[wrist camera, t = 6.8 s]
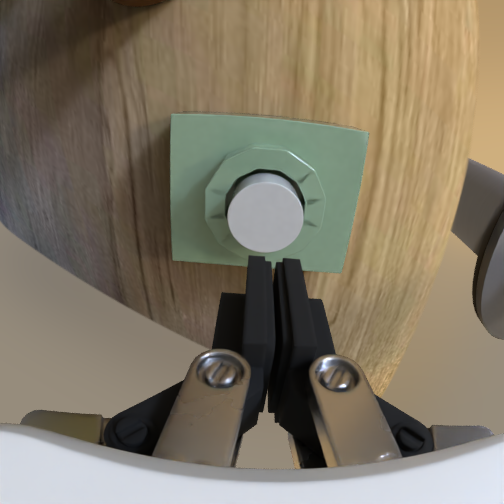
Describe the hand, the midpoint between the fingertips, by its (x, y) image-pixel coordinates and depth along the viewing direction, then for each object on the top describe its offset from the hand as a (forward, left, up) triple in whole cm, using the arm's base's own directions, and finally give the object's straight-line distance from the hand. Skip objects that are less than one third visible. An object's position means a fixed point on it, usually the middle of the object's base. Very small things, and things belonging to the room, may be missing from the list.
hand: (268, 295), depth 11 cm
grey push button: (0, 0, -9) cm, 9 cm away
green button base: (0, 0, -13) cm, 13 cm away
